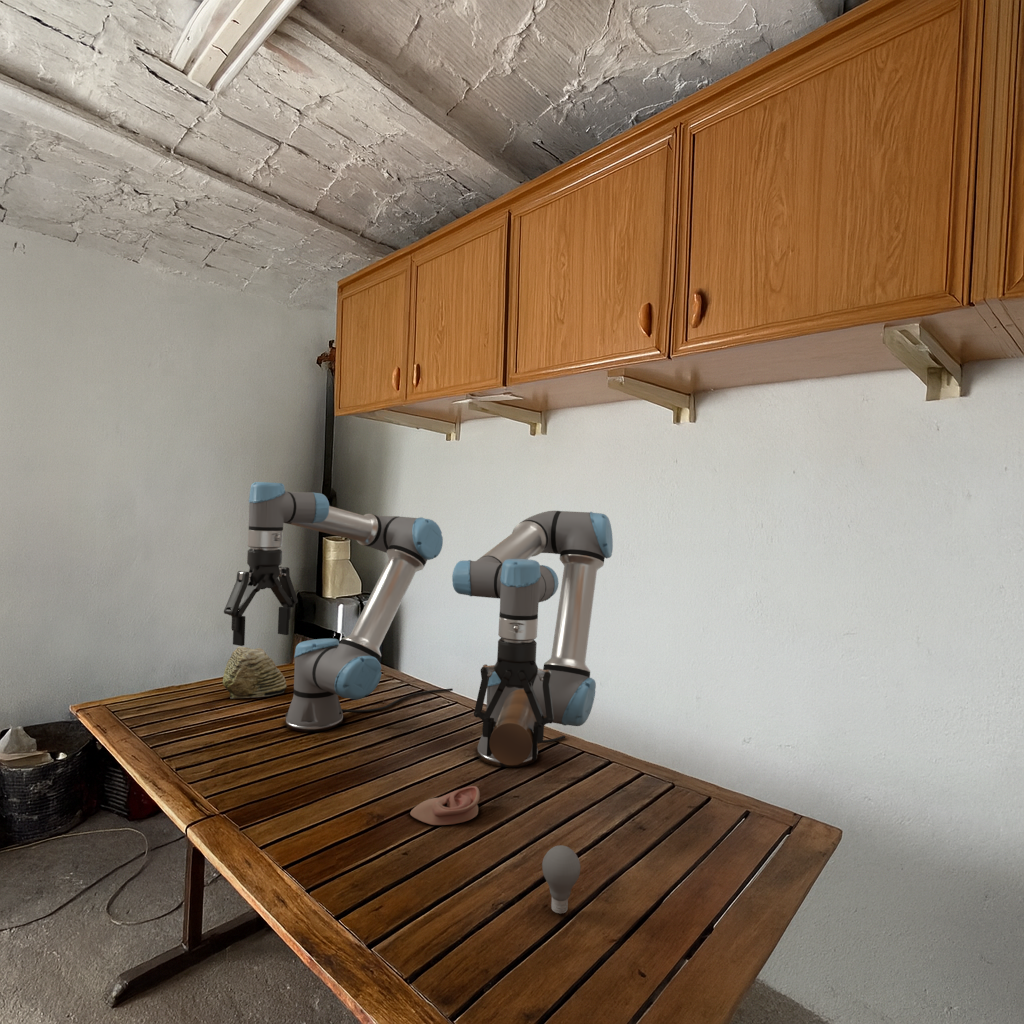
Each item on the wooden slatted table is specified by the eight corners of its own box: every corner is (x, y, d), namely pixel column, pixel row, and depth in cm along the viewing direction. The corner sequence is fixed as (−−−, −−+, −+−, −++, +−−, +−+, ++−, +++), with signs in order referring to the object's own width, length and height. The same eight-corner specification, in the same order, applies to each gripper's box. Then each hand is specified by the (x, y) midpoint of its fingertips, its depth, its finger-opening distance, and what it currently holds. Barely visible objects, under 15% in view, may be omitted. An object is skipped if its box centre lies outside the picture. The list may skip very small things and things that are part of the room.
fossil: (218, 695, 195) (220, 647, 195) (278, 685, 208) (279, 640, 207) (228, 703, 189) (230, 653, 188) (289, 692, 201) (290, 645, 201)
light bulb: (538, 899, 102) (540, 837, 102) (574, 898, 103) (577, 837, 103) (542, 923, 96) (545, 859, 96) (581, 923, 97) (584, 858, 97)
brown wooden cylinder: (503, 723, 142) (504, 687, 142) (538, 726, 142) (540, 690, 141) (488, 763, 120) (490, 721, 120) (530, 767, 119) (532, 724, 119)
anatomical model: (405, 801, 125) (424, 776, 136) (404, 821, 125) (423, 795, 136) (470, 810, 122) (484, 785, 133) (469, 831, 122) (483, 803, 133)
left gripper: (233, 552, 134) (230, 652, 135) (314, 546, 157) (311, 632, 157) (208, 550, 137) (204, 647, 138) (291, 544, 160) (288, 628, 160)
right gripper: (460, 639, 121) (455, 758, 121) (571, 647, 118) (565, 768, 118) (467, 631, 128) (462, 743, 128) (571, 638, 126) (566, 752, 126)
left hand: (261, 639), depth 148 cm, fingers open, 13 cm apart
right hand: (511, 755), depth 123 cm, fingers closed on brown wooden cylinder, 8 cm apart
